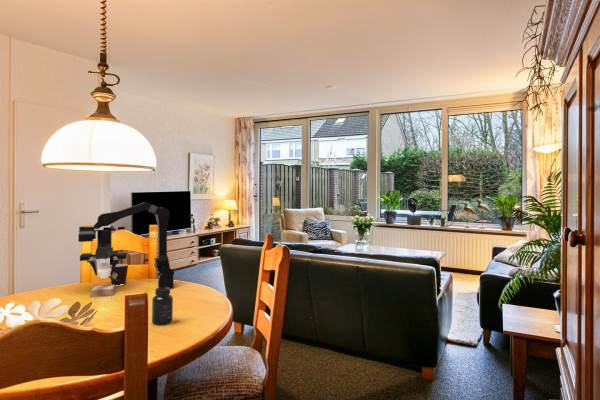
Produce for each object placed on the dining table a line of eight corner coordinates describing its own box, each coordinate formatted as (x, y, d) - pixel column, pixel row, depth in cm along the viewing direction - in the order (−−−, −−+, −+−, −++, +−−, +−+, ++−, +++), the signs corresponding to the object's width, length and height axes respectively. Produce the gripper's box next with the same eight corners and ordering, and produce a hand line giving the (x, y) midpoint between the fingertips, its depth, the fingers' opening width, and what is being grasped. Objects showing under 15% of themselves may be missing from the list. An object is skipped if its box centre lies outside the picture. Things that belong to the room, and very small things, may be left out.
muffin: (94, 277, 165) (94, 262, 165) (108, 275, 170) (108, 260, 170) (99, 279, 161) (99, 264, 161) (114, 277, 166) (114, 262, 166)
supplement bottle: (147, 323, 126) (148, 288, 126) (164, 318, 132) (165, 285, 132) (159, 327, 122) (160, 291, 122) (176, 321, 128) (177, 287, 128)
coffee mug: (131, 284, 185) (131, 265, 186) (115, 287, 178) (115, 267, 178) (118, 281, 192) (118, 262, 192) (102, 284, 184) (102, 265, 184)
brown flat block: (115, 291, 171) (116, 284, 171) (113, 295, 162) (113, 288, 162) (94, 292, 168) (94, 285, 168) (90, 297, 159) (90, 289, 159)
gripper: (76, 243, 155) (76, 279, 155) (124, 241, 161) (124, 276, 161) (82, 240, 165) (82, 274, 165) (127, 239, 171) (127, 272, 171)
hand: (104, 274), depth 165 cm, fingers closed on muffin, 6 cm apart
